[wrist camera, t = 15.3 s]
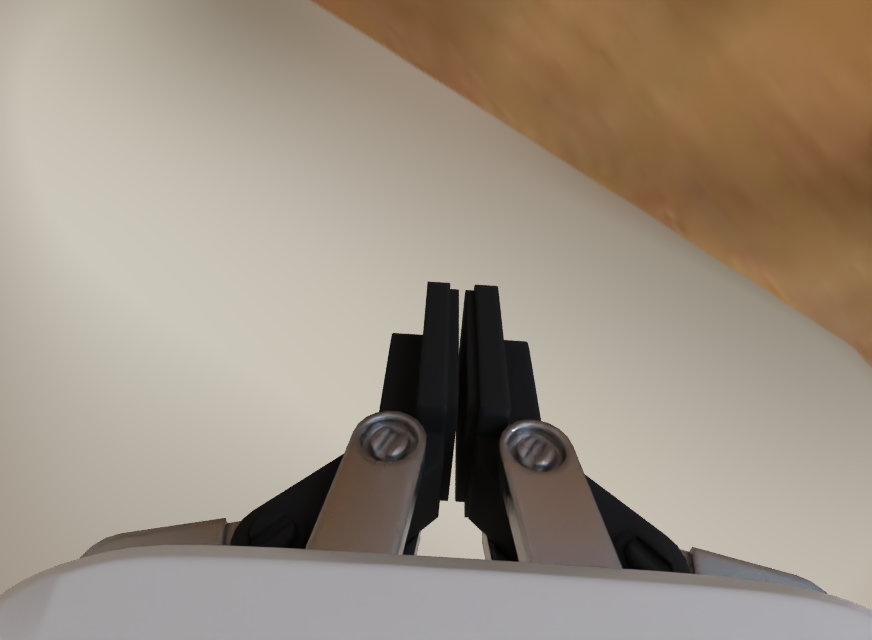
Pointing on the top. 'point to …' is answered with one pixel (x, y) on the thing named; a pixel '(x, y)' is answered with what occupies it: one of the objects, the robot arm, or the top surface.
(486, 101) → the top surface
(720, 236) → the top surface
